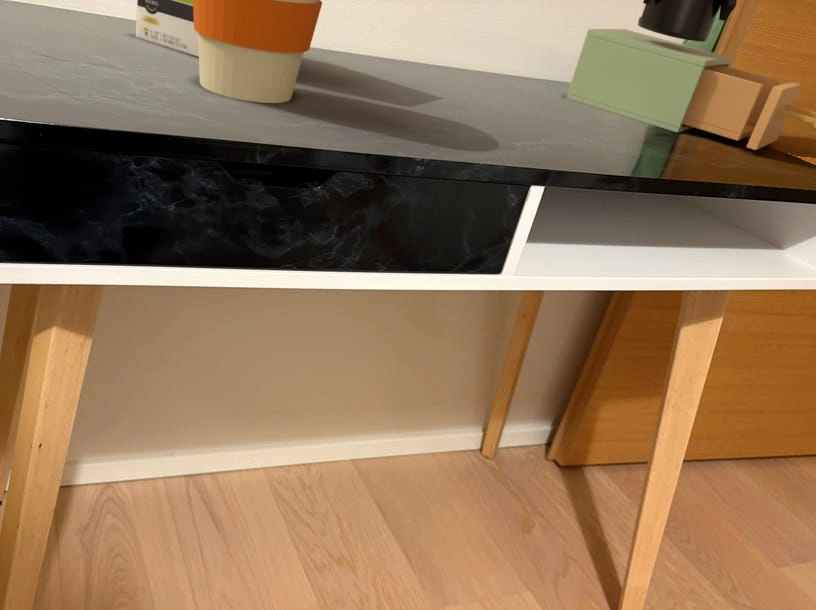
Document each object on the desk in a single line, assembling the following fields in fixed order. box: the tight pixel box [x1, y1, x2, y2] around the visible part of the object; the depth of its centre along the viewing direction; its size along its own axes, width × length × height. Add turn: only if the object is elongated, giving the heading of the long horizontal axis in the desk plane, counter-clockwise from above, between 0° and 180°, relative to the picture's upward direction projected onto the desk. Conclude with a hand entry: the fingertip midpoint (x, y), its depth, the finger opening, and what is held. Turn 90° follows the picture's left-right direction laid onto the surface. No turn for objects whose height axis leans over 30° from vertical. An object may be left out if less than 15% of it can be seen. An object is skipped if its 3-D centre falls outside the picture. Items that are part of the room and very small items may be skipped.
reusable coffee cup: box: [193, 0, 323, 104], centre depth 75 cm, size 13×12×15 cm
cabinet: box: [566, 28, 734, 134], centre depth 108 cm, size 16×14×9 cm
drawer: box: [683, 65, 816, 151], centre depth 102 cm, size 20×12×7 cm, turn 52°
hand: (688, 4), depth 99 cm, fingers closed on ink bottle, 9 cm apart
